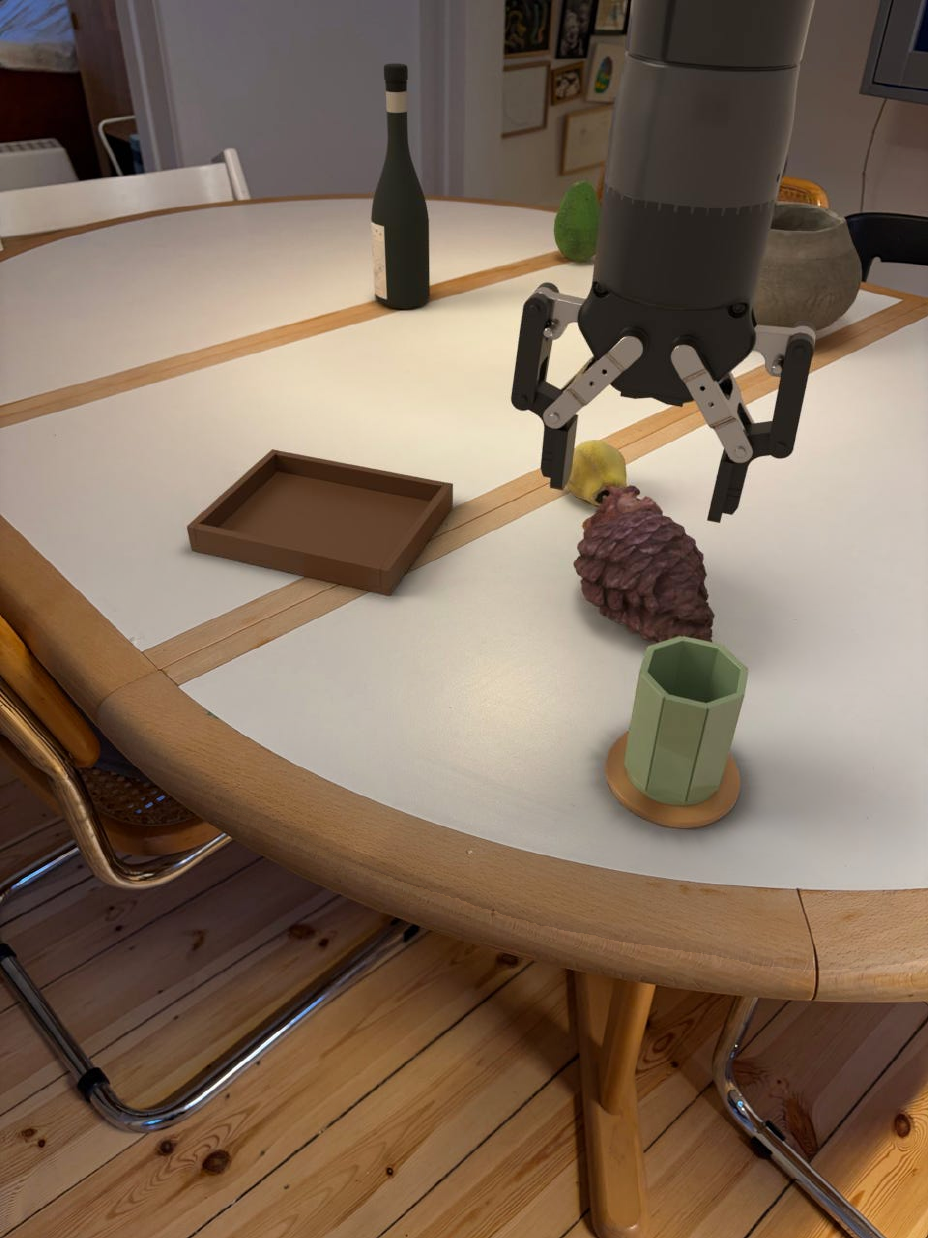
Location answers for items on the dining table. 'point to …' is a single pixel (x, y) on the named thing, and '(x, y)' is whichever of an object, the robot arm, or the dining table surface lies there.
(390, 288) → the wine bottle
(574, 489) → the fruit
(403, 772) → the dining table surface
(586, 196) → the fruit
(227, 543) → the tray
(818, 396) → the dining table surface
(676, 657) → the cup
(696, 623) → the pine cone
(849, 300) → the clay pot
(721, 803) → the coaster
